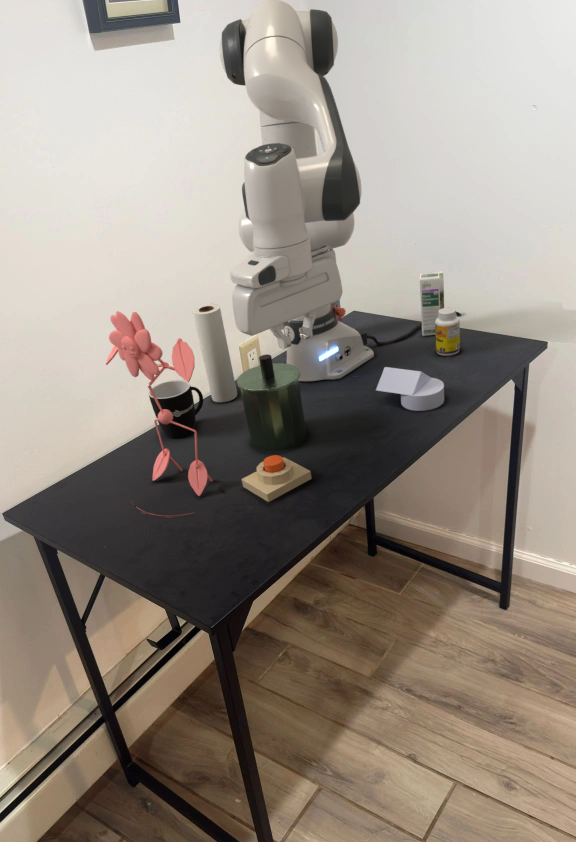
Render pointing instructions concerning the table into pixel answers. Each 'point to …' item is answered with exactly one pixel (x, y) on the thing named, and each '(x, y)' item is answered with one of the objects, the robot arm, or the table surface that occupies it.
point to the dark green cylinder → (275, 418)
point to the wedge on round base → (413, 388)
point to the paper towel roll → (215, 352)
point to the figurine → (141, 355)
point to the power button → (273, 464)
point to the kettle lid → (268, 376)
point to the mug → (176, 406)
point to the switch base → (276, 480)
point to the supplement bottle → (447, 332)
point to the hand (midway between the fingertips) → (296, 342)
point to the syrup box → (431, 300)
